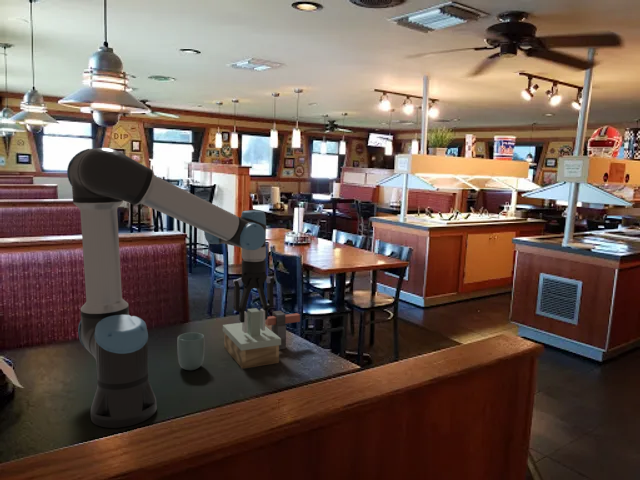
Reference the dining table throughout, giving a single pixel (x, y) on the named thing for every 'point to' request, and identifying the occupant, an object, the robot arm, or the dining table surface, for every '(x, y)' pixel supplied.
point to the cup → (190, 350)
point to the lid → (251, 333)
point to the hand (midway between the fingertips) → (253, 330)
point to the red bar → (288, 319)
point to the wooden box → (260, 354)
